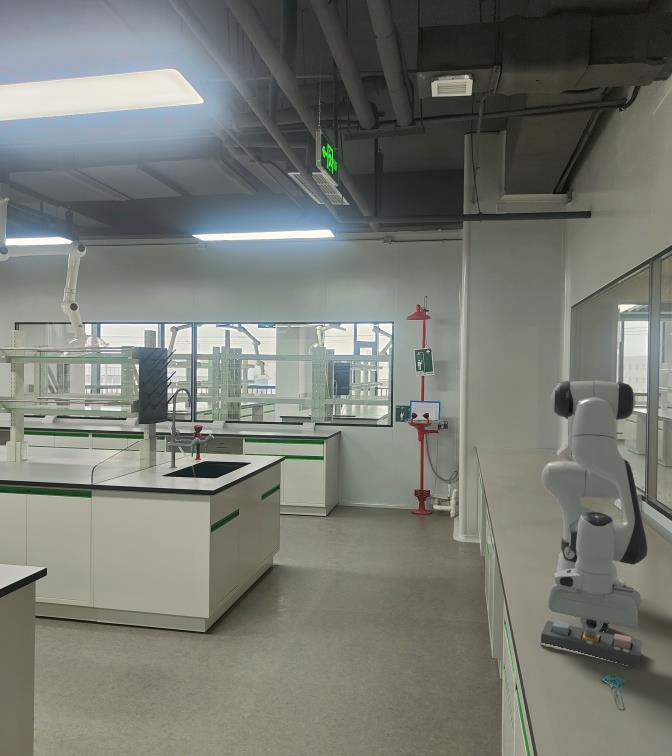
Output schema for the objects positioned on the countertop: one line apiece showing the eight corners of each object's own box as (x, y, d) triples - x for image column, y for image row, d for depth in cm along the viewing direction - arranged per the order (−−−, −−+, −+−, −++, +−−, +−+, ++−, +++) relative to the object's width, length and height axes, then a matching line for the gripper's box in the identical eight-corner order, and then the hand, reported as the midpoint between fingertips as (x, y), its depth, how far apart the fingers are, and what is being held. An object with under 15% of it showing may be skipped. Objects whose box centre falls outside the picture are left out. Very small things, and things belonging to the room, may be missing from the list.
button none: (552, 634, 157) (552, 625, 157) (554, 629, 160) (554, 620, 160) (567, 637, 155) (567, 628, 155) (569, 632, 158) (569, 623, 158)
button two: (613, 648, 150) (613, 639, 150) (614, 642, 153) (614, 633, 153) (629, 651, 149) (630, 642, 149) (630, 646, 152) (631, 637, 152)
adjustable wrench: (600, 672, 142) (624, 676, 140) (600, 676, 142) (624, 681, 140) (608, 704, 128) (635, 709, 127) (608, 709, 128) (634, 714, 127)
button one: (581, 646, 154) (582, 637, 154) (583, 640, 157) (584, 631, 157) (597, 649, 152) (598, 640, 152) (599, 644, 155) (599, 635, 155)
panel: (540, 645, 156) (541, 632, 155) (546, 631, 164) (547, 619, 163) (639, 668, 145) (640, 655, 145) (640, 653, 153) (641, 640, 153)
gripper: (641, 585, 152) (638, 641, 152) (552, 569, 161) (550, 622, 162) (640, 593, 146) (637, 652, 146) (548, 576, 156) (546, 631, 156)
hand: (591, 636), depth 154 cm, fingers closed, pressing on button one
